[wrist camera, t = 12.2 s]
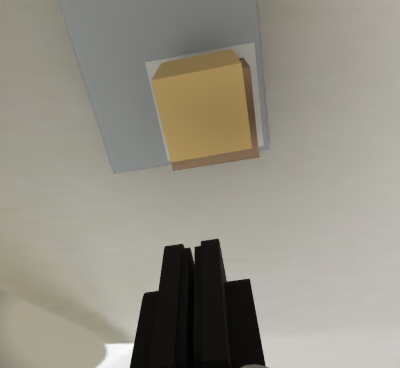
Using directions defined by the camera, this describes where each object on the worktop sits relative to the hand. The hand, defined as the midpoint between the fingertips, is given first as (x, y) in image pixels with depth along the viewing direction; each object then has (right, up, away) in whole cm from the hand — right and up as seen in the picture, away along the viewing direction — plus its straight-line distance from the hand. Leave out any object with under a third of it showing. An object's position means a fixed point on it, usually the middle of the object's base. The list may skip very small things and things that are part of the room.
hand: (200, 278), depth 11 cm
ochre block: (0, +10, +14) cm, 17 cm away
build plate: (-2, +14, +19) cm, 23 cm away
